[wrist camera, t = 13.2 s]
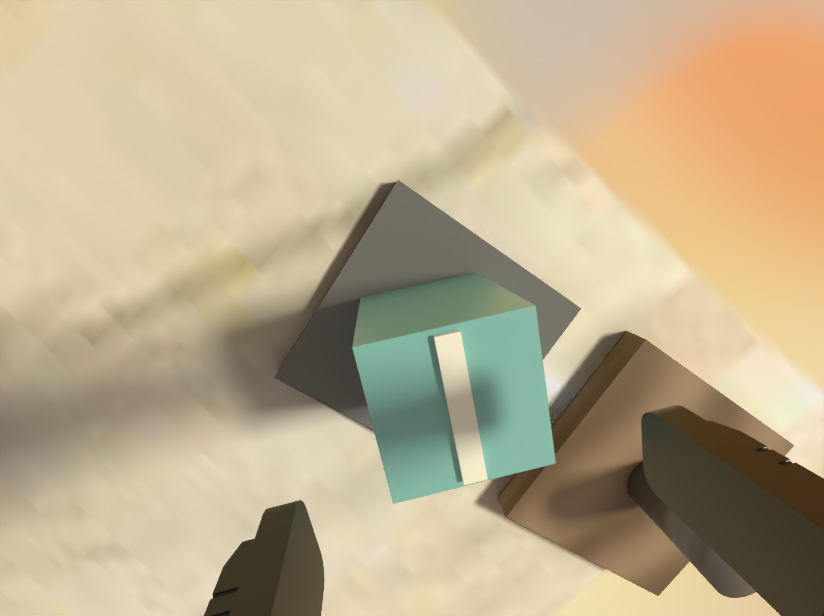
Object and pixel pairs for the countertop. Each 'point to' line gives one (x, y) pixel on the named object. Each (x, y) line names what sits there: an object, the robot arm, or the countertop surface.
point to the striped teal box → (453, 384)
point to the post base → (626, 473)
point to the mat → (395, 269)
